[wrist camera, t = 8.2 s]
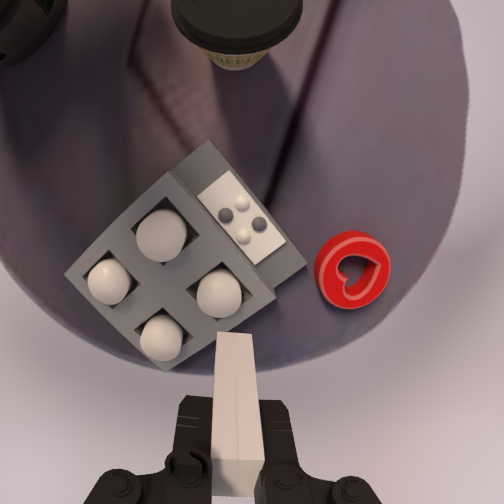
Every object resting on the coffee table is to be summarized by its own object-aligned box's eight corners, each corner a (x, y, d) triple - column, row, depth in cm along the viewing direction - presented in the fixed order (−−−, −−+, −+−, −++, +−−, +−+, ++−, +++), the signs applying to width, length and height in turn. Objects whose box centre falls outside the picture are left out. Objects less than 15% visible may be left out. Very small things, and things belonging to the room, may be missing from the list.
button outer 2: (190, 283, 36) (187, 295, 33) (222, 259, 35) (221, 269, 32) (217, 311, 37) (216, 325, 35) (249, 289, 37) (250, 301, 34)
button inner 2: (135, 227, 32) (126, 235, 30) (167, 199, 32) (160, 204, 29) (164, 260, 34) (158, 271, 31) (196, 233, 33) (193, 242, 30)
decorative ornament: (393, 262, 40) (404, 271, 37) (344, 311, 42) (351, 323, 39) (352, 214, 37) (361, 221, 35) (298, 269, 40) (303, 280, 37)
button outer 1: (137, 327, 37) (131, 341, 34) (164, 307, 36) (159, 320, 33) (164, 352, 38) (160, 367, 35) (191, 333, 37) (188, 348, 34)
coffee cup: (250, 101, 32) (261, 72, 18) (175, 62, 30) (138, 15, 16) (294, 36, 30) (332, -20, 15) (221, -2, 27) (216, -72, 13)
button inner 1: (90, 271, 35) (80, 282, 32) (113, 248, 34) (104, 257, 31) (116, 299, 36) (108, 311, 33) (141, 278, 35) (134, 289, 33)
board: (79, 260, 37) (64, 274, 33) (210, 139, 33) (206, 138, 29) (169, 352, 43) (164, 372, 38) (304, 257, 39) (312, 271, 34)
